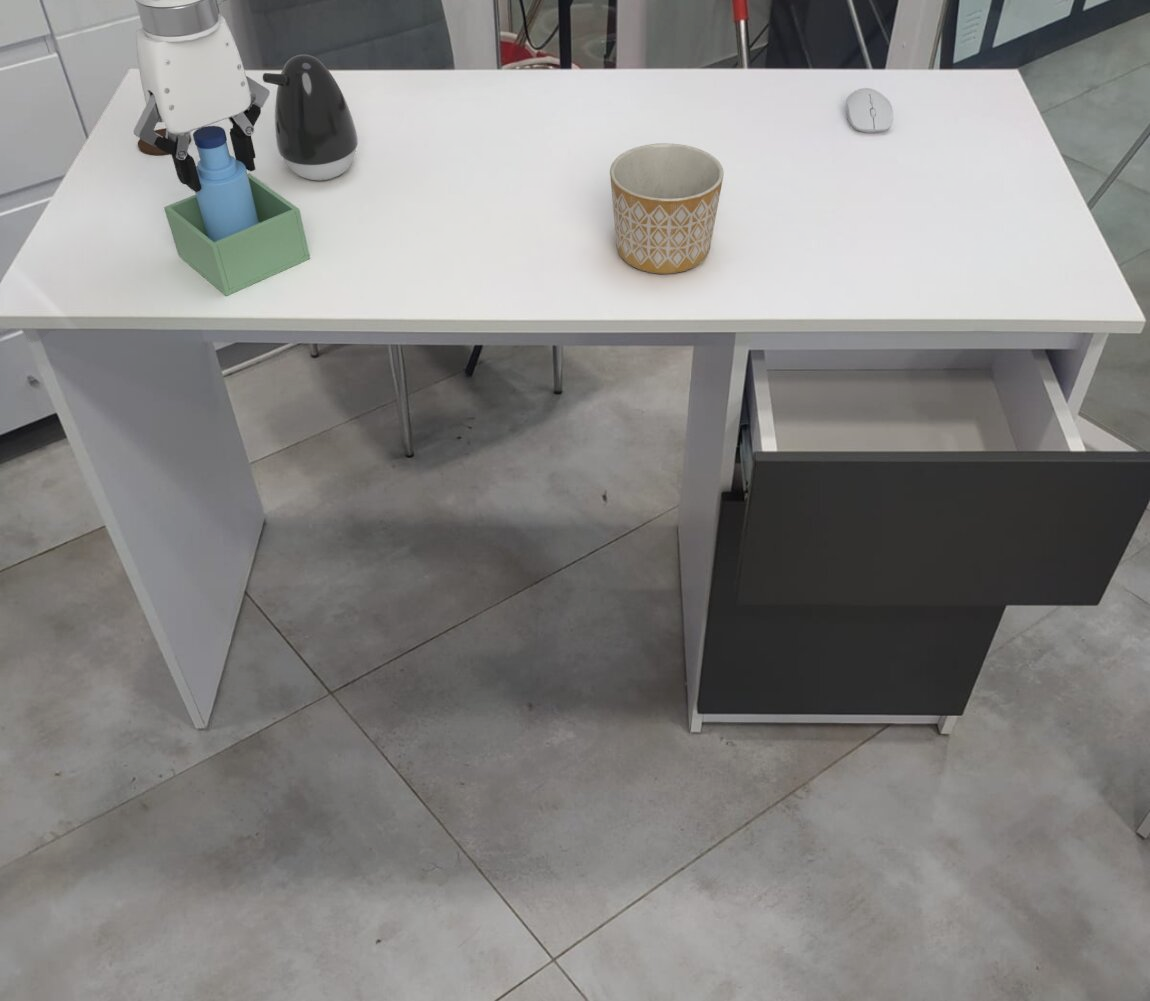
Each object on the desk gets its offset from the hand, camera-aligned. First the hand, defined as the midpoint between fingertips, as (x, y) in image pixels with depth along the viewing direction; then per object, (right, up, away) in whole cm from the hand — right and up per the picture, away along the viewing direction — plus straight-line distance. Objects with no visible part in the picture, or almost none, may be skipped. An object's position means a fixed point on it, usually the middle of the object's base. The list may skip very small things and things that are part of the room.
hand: (219, 175), depth 124 cm
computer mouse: (+80, +16, +30) cm, 87 cm away
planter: (+50, -7, +8) cm, 51 cm away
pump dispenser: (+6, +7, +22) cm, 24 cm away
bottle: (0, -7, +7) cm, 9 cm away
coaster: (-16, +13, +28) cm, 35 cm away
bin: (0, -7, +8) cm, 11 cm away
